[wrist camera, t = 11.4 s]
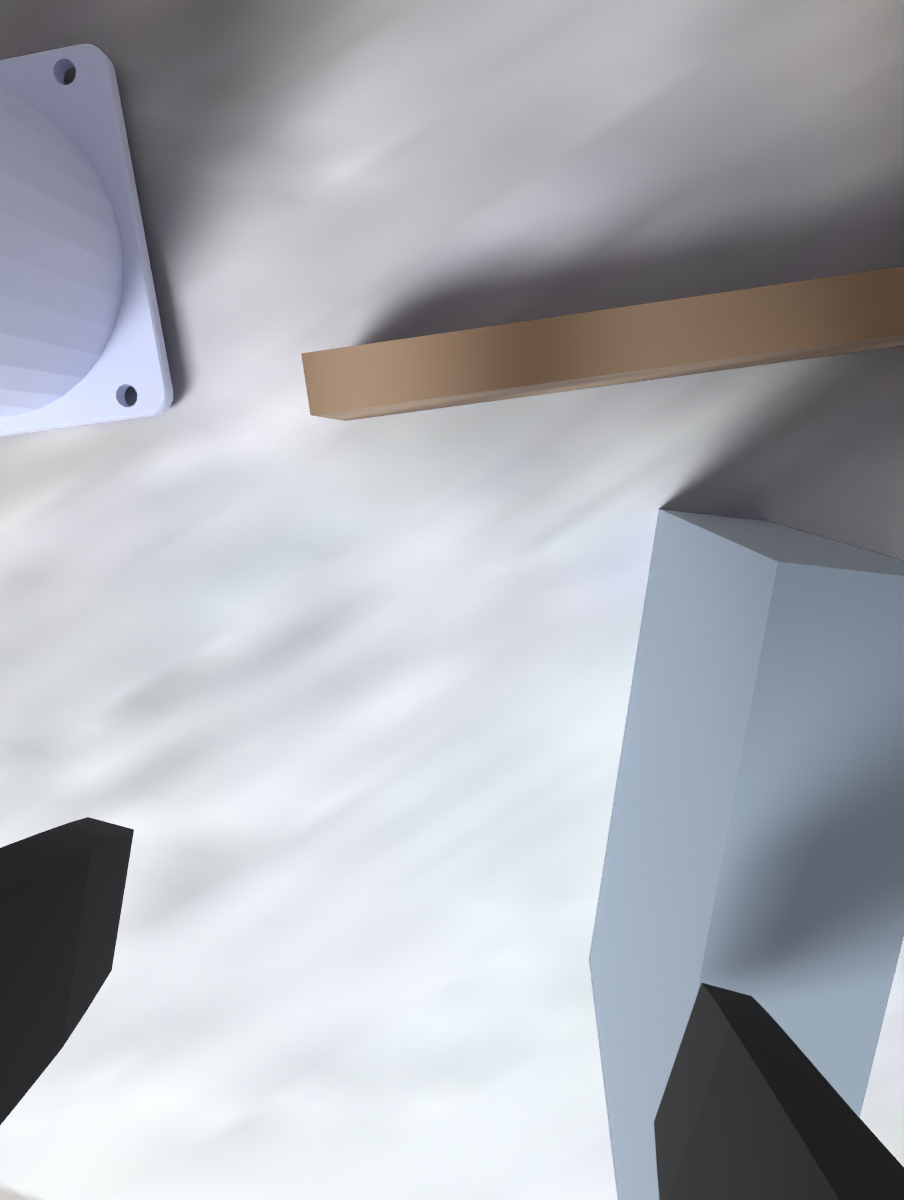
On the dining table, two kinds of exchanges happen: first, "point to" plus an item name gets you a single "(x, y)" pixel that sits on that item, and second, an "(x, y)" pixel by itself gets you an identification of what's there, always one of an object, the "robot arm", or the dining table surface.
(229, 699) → the dining table surface
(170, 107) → the dining table surface
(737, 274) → the dining table surface
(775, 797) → the blue grey rectangular slab
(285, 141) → the dining table surface
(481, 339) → the rack
